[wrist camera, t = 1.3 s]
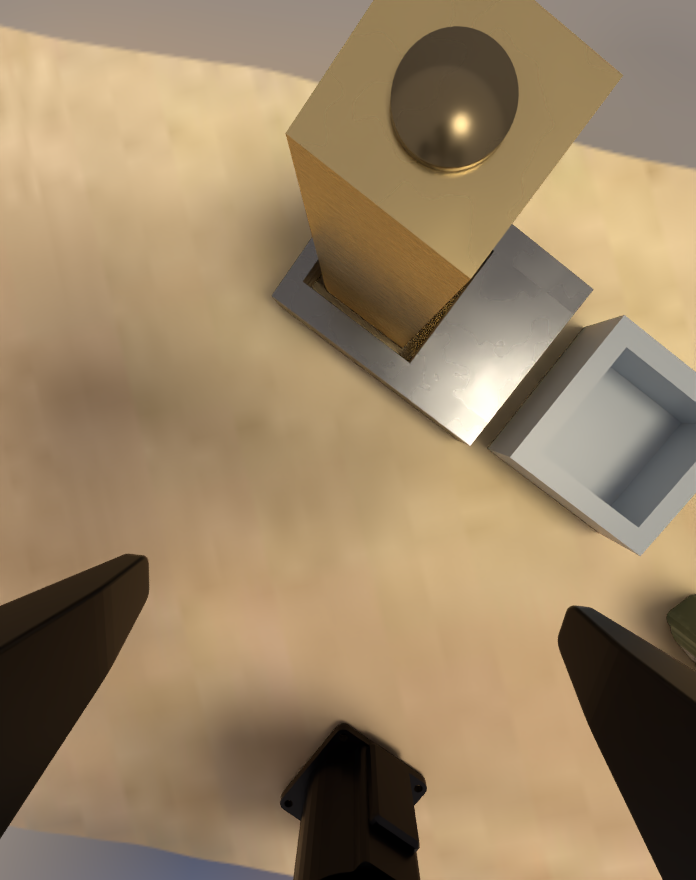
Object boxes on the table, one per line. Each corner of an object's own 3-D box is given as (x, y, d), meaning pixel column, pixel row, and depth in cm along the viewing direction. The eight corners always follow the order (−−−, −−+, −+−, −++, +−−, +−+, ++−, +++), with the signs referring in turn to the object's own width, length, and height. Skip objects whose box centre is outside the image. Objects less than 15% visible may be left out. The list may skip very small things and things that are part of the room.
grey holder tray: (569, 300, 20) (593, 289, 18) (459, 441, 21) (470, 445, 19) (385, 153, 19) (389, 125, 17) (279, 305, 20) (271, 295, 18)
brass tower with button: (402, 347, 20) (473, 275, 8) (326, 290, 20) (284, 126, 8) (460, 268, 20) (629, 67, 8) (383, 208, 20) (433, -100, 7)
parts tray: (600, 533, 21) (640, 556, 18) (487, 448, 21) (510, 457, 18) (698, 418, 20) (757, 422, 17) (584, 327, 20) (624, 315, 17)
